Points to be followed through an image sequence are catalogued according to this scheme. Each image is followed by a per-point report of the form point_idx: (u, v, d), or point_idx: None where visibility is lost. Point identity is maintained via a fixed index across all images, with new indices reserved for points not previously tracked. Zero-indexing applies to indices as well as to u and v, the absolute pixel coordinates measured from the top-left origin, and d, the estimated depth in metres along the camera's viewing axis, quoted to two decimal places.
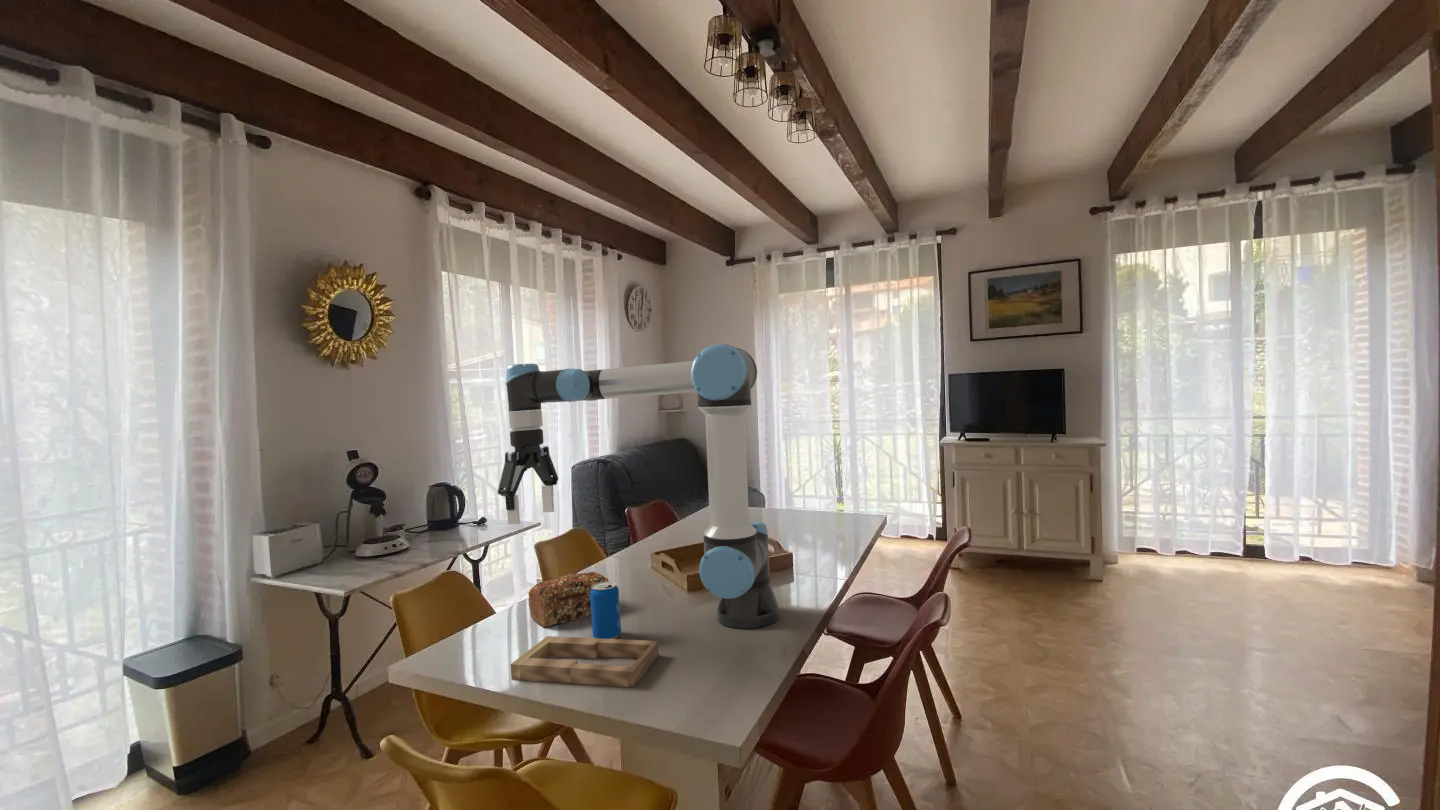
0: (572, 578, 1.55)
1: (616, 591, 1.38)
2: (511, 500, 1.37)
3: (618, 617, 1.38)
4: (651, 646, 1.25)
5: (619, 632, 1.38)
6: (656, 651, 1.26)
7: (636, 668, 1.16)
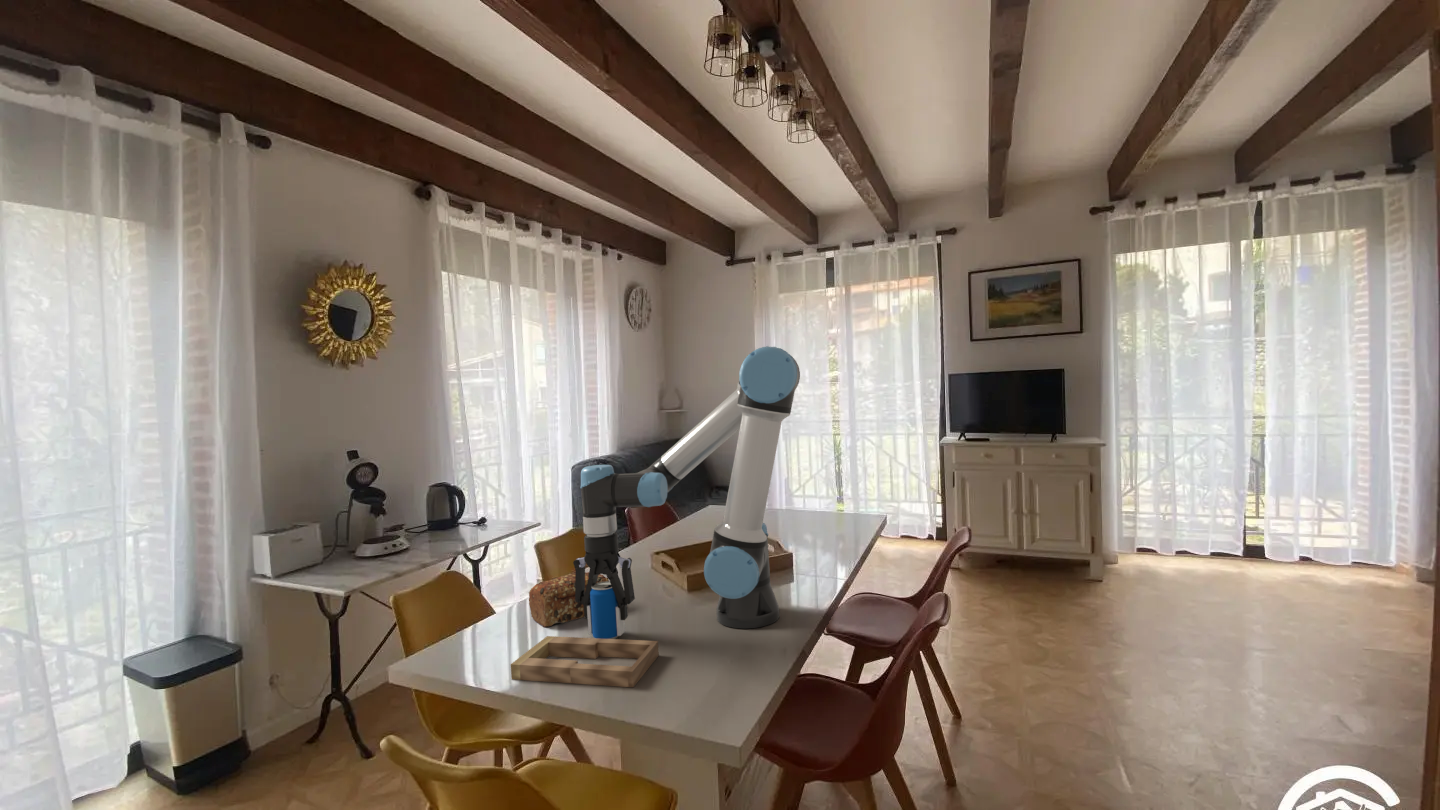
0: (572, 578, 1.55)
1: None
2: (584, 609, 1.40)
3: None
4: (651, 646, 1.25)
5: None
6: (656, 651, 1.26)
7: (636, 668, 1.16)
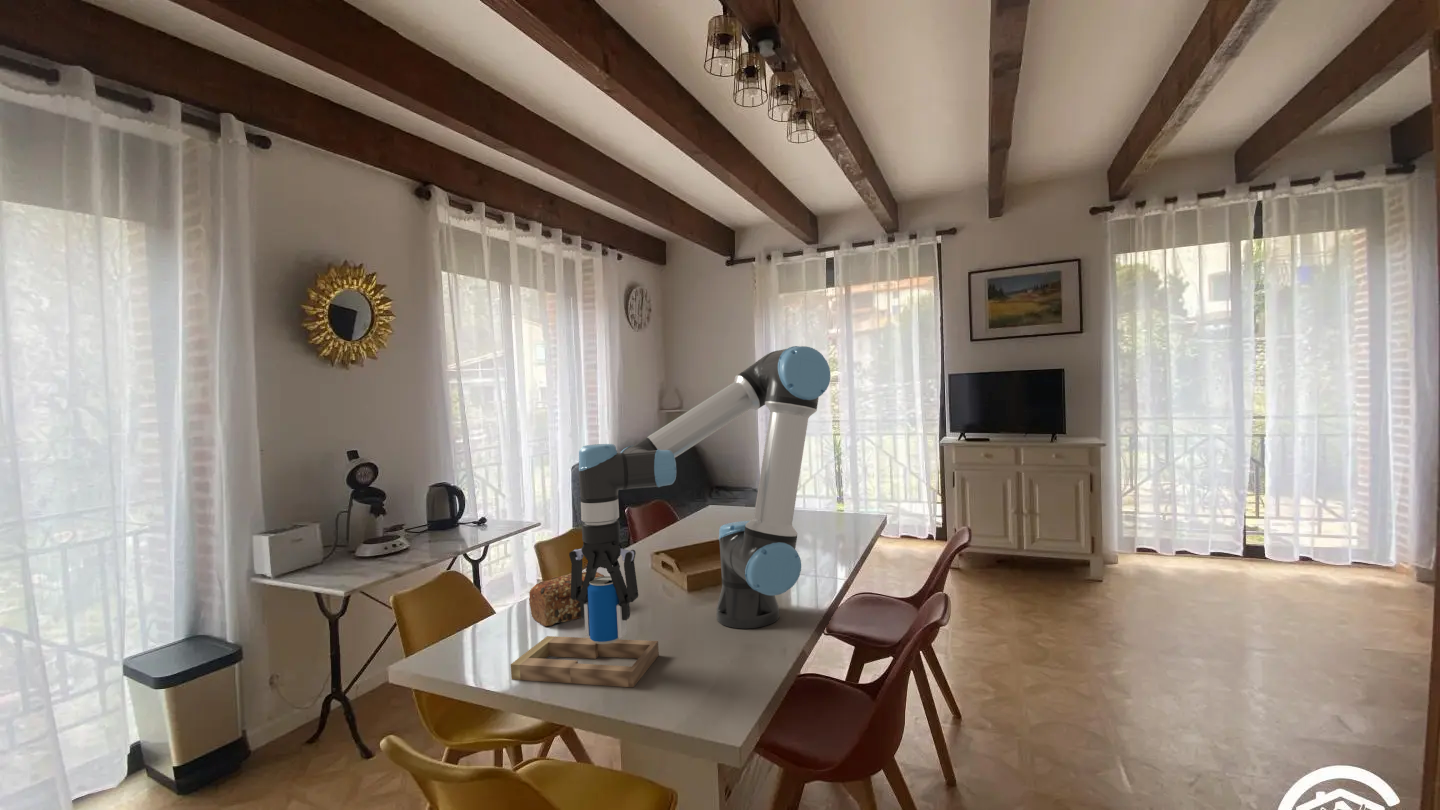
0: None
1: None
2: (581, 607, 1.23)
3: None
4: (651, 646, 1.25)
5: None
6: (656, 651, 1.26)
7: (636, 668, 1.16)
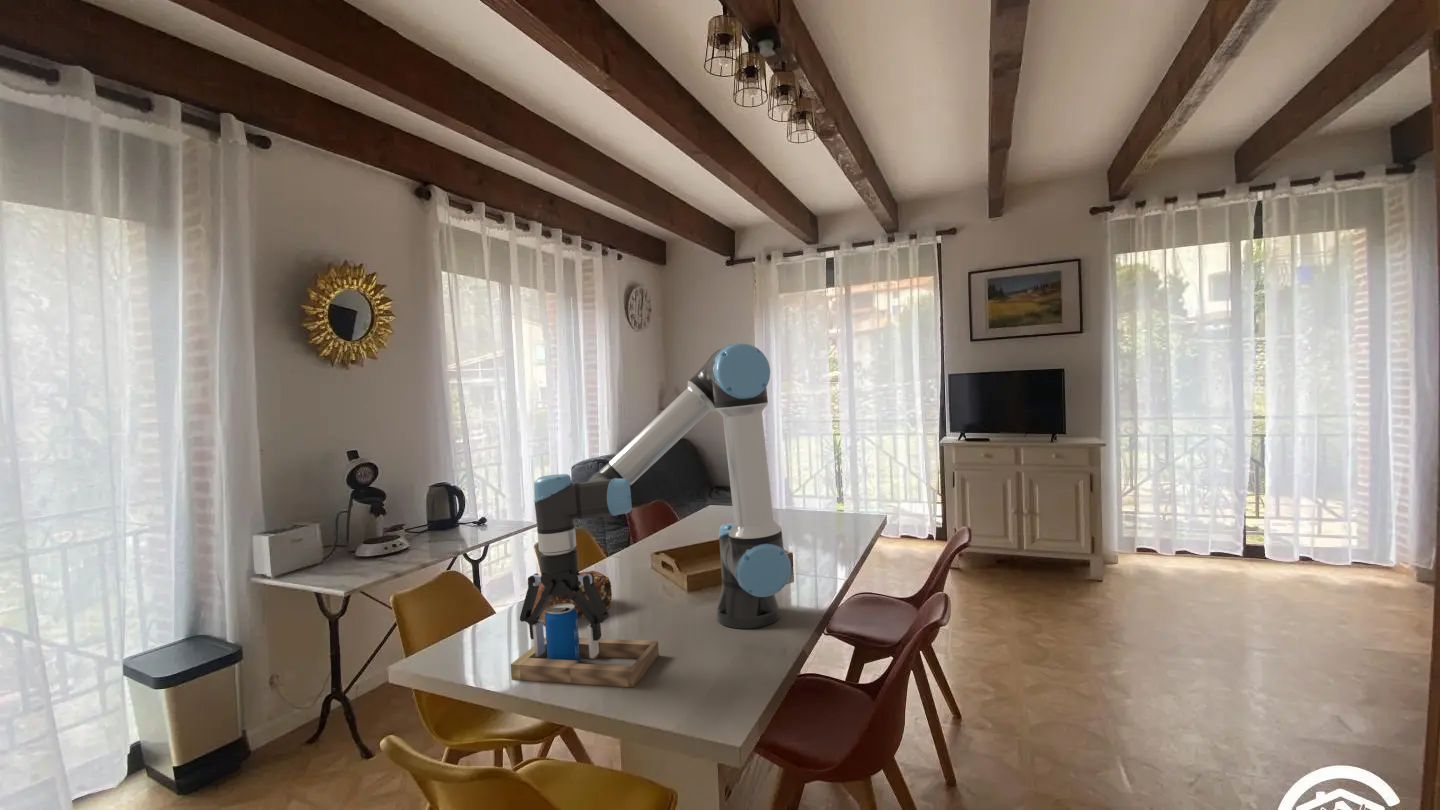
0: None
1: (574, 615, 1.24)
2: (530, 628, 1.26)
3: (576, 644, 1.24)
4: (651, 646, 1.25)
5: (578, 661, 1.25)
6: (656, 651, 1.26)
7: (636, 668, 1.16)
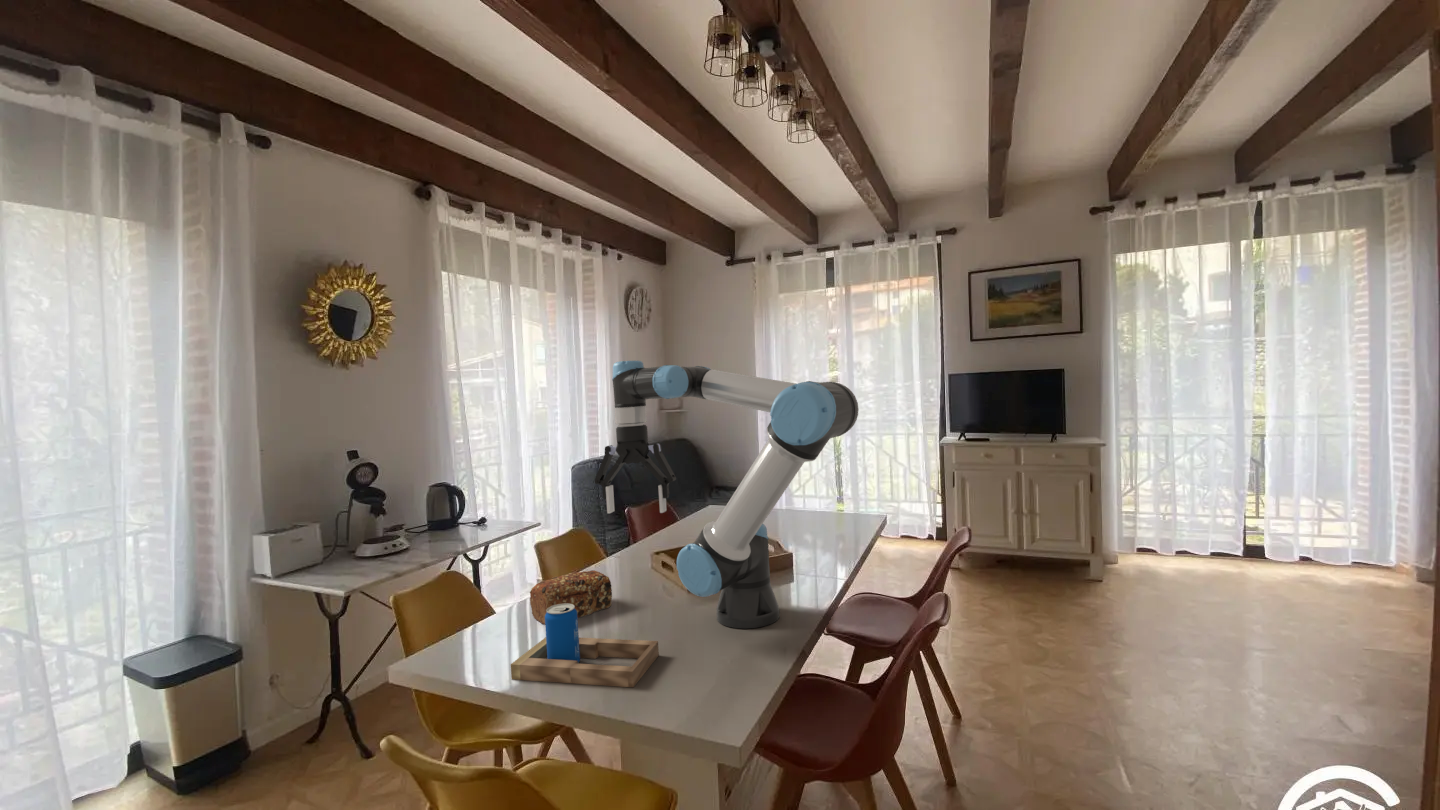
0: (573, 577, 1.56)
1: (574, 615, 1.24)
2: (603, 490, 1.48)
3: (576, 644, 1.24)
4: (651, 646, 1.25)
5: (578, 661, 1.25)
6: (656, 651, 1.26)
7: (636, 668, 1.16)
